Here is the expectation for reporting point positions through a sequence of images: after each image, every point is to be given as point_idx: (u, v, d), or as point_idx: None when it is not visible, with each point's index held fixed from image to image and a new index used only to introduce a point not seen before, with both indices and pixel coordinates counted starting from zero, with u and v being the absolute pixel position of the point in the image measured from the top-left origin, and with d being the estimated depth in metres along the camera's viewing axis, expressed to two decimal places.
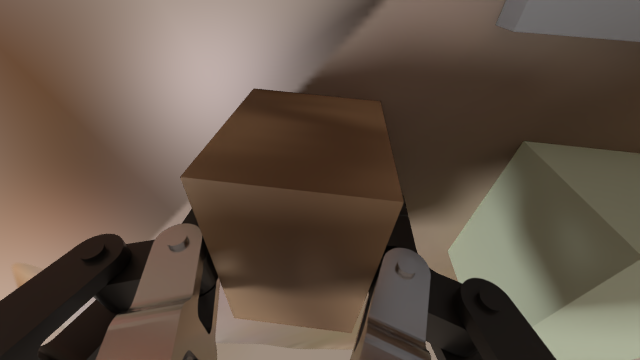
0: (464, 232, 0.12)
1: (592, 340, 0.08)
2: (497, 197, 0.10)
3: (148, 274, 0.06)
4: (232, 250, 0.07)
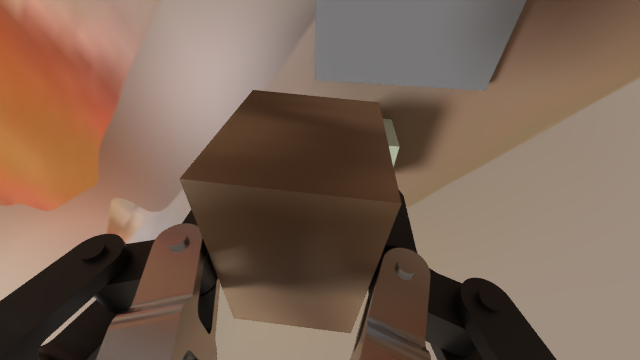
0: None
1: None
2: None
3: (148, 274, 0.06)
4: (231, 251, 0.07)
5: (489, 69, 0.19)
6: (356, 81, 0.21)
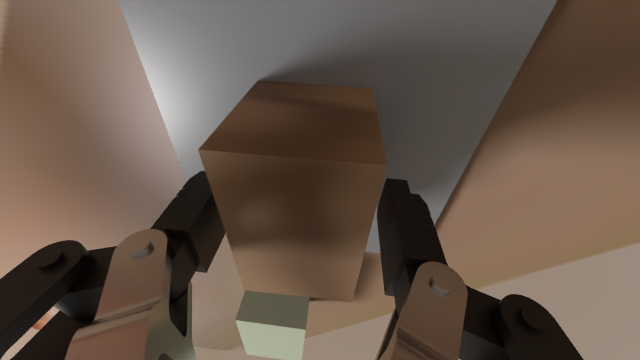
0: None
1: (272, 347, 0.19)
2: None
3: (111, 285, 0.06)
4: (242, 219, 0.08)
5: None
6: None
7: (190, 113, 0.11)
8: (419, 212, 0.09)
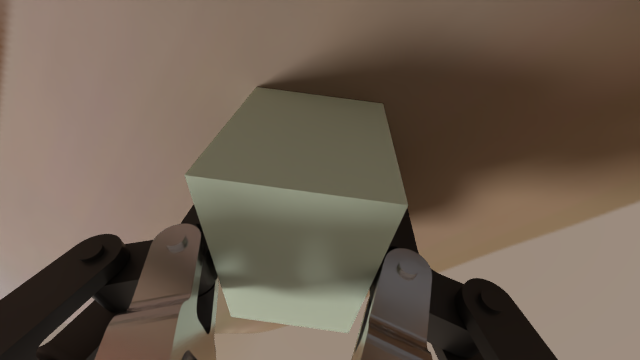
0: None
1: (290, 292, 0.08)
2: None
3: (146, 274, 0.06)
4: None
5: None
6: None
7: None
8: None
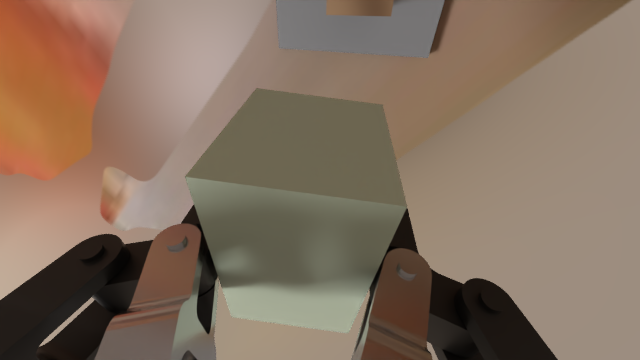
0: None
1: (290, 293, 0.08)
2: None
3: (147, 274, 0.06)
4: None
5: (429, 37, 0.22)
6: (315, 49, 0.24)
7: None
8: None
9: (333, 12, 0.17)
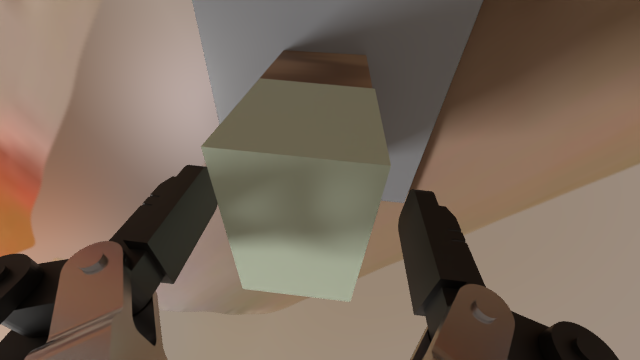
0: None
1: (295, 259, 0.09)
2: None
3: (62, 303, 0.05)
4: None
5: (404, 187, 0.19)
6: None
7: (231, 77, 0.15)
8: (448, 226, 0.08)
9: None
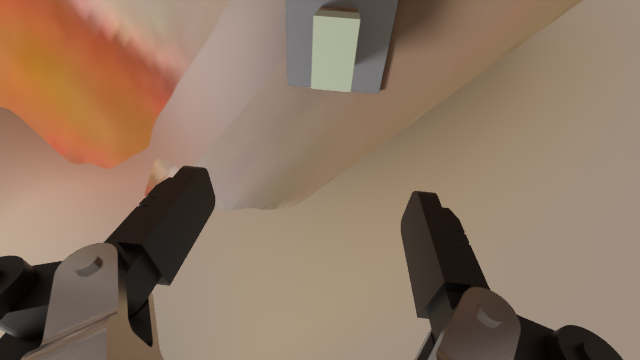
0: None
1: (332, 65, 0.27)
2: None
3: (56, 306, 0.05)
4: None
5: (378, 82, 0.37)
6: (310, 86, 0.38)
7: (296, 19, 0.33)
8: (452, 228, 0.08)
9: None
